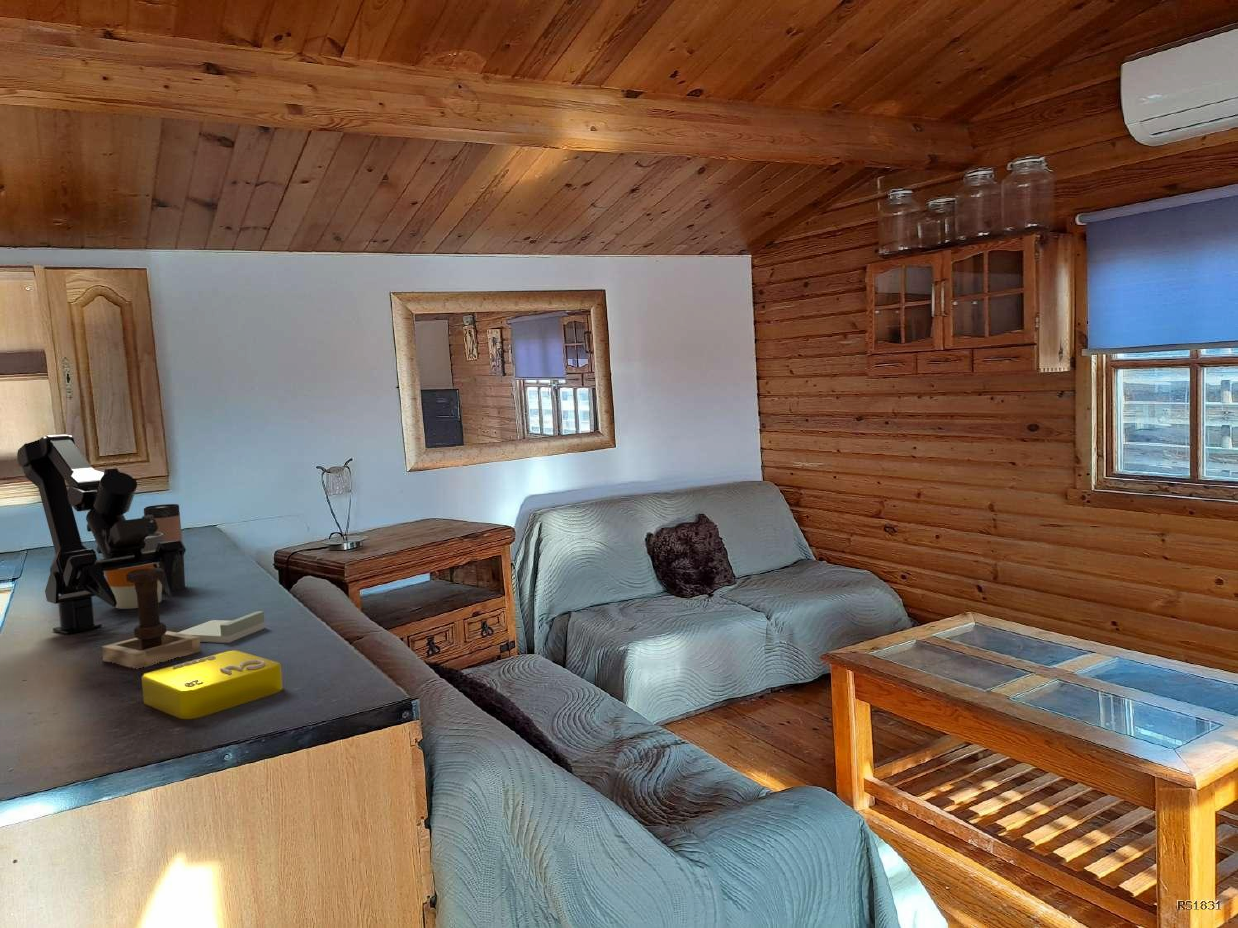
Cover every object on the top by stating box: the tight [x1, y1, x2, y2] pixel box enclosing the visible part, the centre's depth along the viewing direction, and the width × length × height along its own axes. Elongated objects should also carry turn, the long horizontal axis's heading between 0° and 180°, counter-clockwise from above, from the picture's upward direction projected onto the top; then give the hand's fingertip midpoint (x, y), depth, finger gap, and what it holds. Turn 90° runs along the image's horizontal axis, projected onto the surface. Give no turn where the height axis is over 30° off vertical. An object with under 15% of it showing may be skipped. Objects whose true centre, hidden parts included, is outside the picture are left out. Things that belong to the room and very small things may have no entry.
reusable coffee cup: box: [104, 533, 165, 610], centre depth 193 cm, size 12×13×15 cm
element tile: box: [141, 649, 284, 720], centre depth 128 cm, size 15×15×5 cm
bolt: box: [126, 568, 168, 650], centre depth 150 cm, size 6×5×15 cm
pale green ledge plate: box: [177, 610, 266, 644], centre depth 163 cm, size 12×10×3 cm
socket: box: [101, 630, 202, 670], centre depth 151 cm, size 11×11×2 cm
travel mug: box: [143, 503, 186, 593], centre depth 208 cm, size 8×8×20 cm
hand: (143, 599), depth 151 cm, fingers open, 9 cm apart
